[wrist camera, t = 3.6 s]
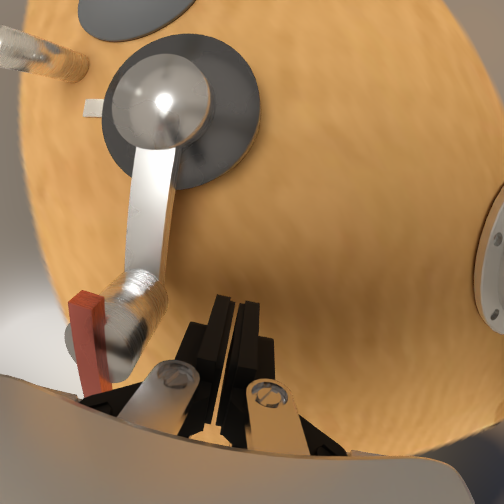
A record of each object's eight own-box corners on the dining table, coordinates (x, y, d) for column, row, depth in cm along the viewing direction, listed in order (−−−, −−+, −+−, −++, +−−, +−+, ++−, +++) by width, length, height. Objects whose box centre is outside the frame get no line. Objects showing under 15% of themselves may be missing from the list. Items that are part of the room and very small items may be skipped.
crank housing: (273, 60, 12) (278, -9, 6) (245, 195, 15) (226, 231, 8) (69, 54, 12) (-11, 27, 5) (49, 165, 14) (-39, 183, 8)
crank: (141, 64, 10) (60, 18, 5) (224, 70, 10) (187, 5, 5) (114, 316, 14) (55, 391, 8) (181, 334, 14) (142, 425, 8)
